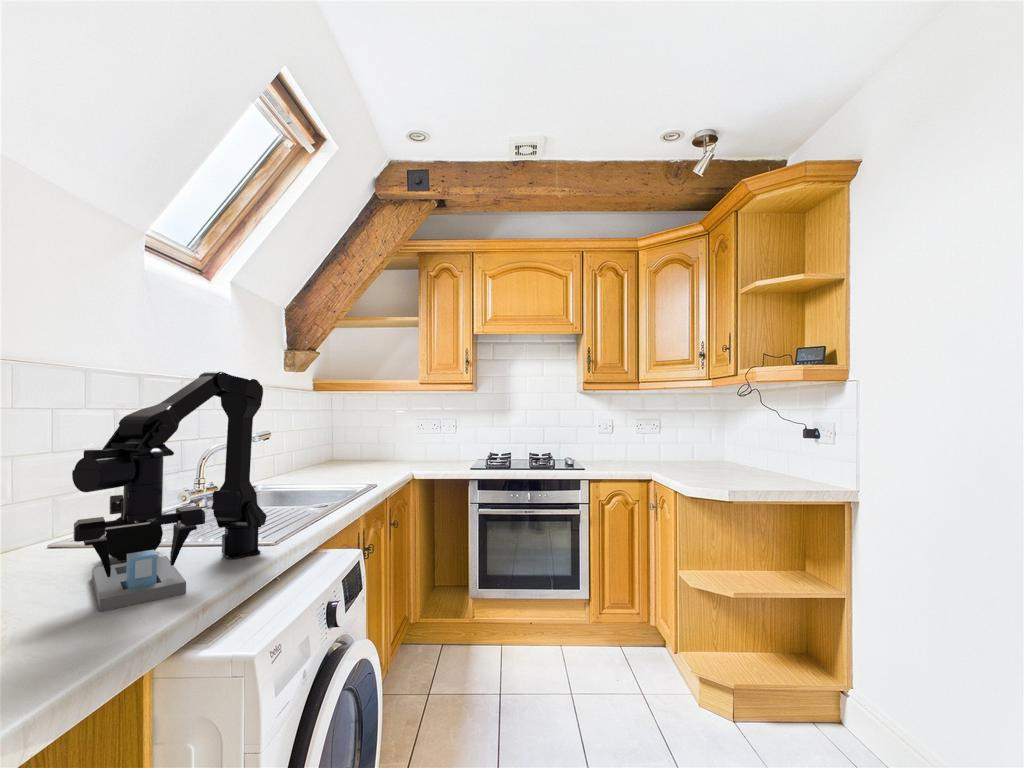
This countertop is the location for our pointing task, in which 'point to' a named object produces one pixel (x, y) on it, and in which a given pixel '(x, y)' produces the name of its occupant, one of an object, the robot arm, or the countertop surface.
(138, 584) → the plug
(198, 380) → the robot arm
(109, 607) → the grey board with holes
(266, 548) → the countertop surface
